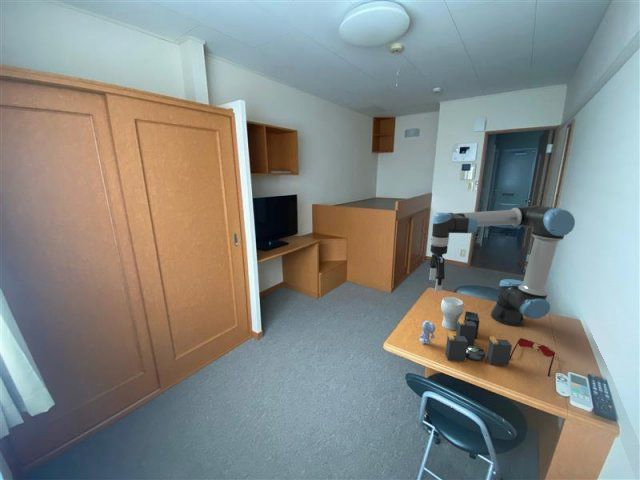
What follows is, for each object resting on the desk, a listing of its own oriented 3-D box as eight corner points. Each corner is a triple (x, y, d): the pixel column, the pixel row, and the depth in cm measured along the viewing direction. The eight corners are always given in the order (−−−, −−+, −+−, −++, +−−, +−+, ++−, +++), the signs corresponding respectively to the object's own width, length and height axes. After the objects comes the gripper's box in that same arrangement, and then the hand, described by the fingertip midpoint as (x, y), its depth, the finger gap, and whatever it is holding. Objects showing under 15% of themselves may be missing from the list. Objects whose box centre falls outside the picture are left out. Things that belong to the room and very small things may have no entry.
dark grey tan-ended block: (503, 359, 117) (507, 337, 114) (508, 366, 113) (512, 343, 111) (486, 358, 118) (489, 336, 116) (490, 364, 114) (494, 342, 112)
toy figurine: (430, 338, 133) (432, 317, 130) (435, 346, 126) (437, 324, 124) (416, 338, 133) (418, 316, 130) (420, 346, 127) (422, 324, 124)
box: (463, 328, 141) (465, 310, 138) (475, 331, 139) (478, 313, 136) (464, 336, 134) (466, 318, 132) (476, 339, 132) (479, 320, 129)
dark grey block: (461, 355, 120) (464, 334, 117) (464, 361, 116) (468, 339, 113) (445, 354, 121) (447, 332, 118) (447, 360, 117) (450, 338, 114)
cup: (456, 321, 148) (459, 296, 144) (464, 332, 138) (467, 306, 134) (436, 320, 149) (439, 296, 145) (442, 331, 139) (445, 305, 135)
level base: (479, 348, 125) (480, 342, 124) (488, 362, 116) (489, 355, 115) (457, 346, 126) (458, 340, 125) (464, 360, 117) (465, 353, 116)
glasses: (554, 358, 119) (557, 348, 117) (549, 377, 108) (551, 367, 106) (516, 344, 128) (518, 335, 127) (508, 360, 117) (510, 350, 116)
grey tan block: (470, 339, 131) (473, 319, 129) (473, 344, 127) (477, 324, 125) (455, 338, 132) (458, 318, 130) (458, 343, 129) (461, 323, 126)
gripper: (426, 238, 142) (422, 275, 147) (437, 251, 118) (432, 295, 123) (441, 239, 141) (437, 276, 146) (455, 252, 117) (449, 296, 122)
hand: (435, 285), depth 134 cm, fingers open, 13 cm apart
